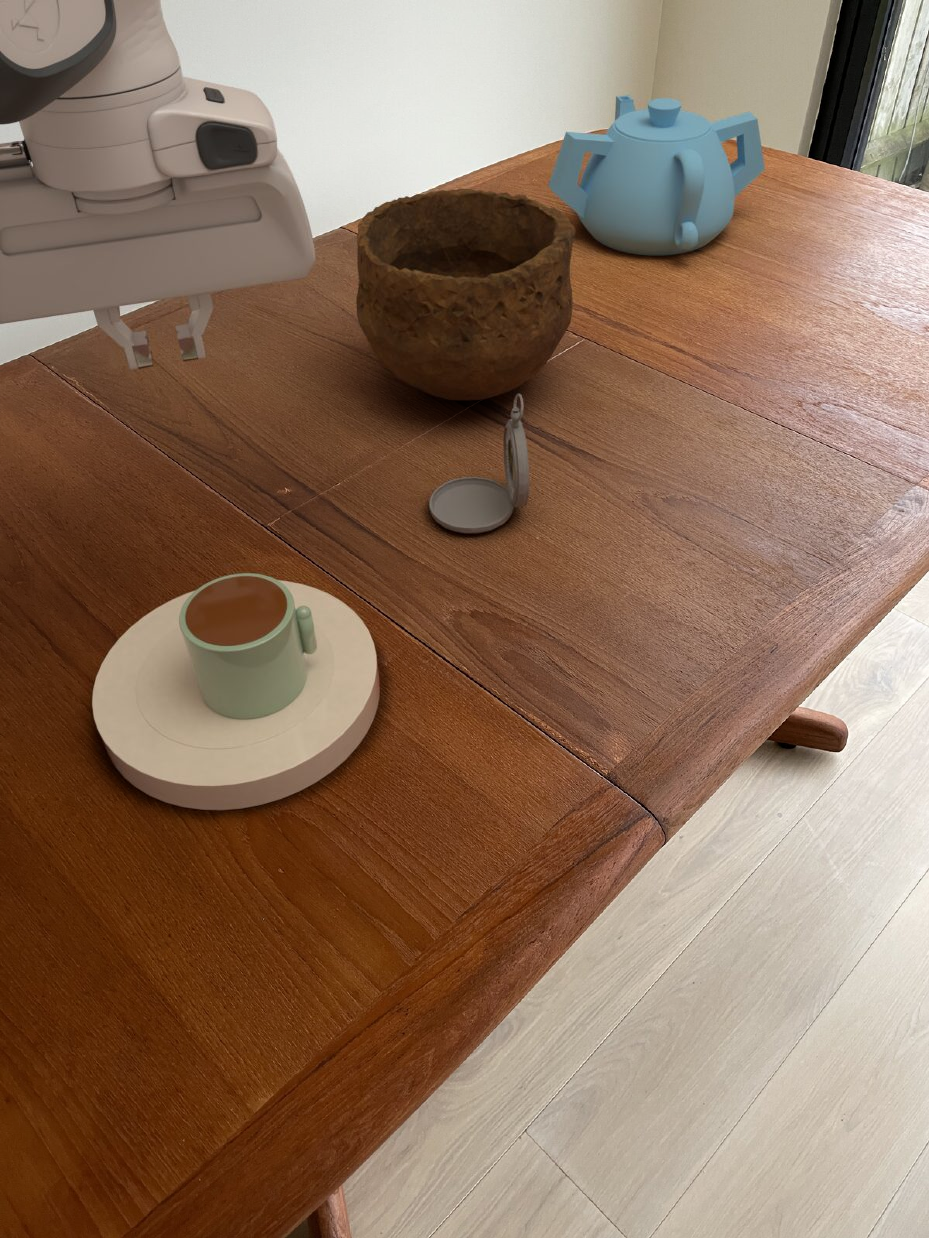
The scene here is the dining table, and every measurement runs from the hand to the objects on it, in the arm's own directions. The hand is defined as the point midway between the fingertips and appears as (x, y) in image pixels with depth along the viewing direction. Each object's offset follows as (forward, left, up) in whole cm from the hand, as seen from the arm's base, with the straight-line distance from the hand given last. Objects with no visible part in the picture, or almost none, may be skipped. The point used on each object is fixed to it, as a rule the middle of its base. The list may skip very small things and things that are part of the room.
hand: (168, 360), depth 65 cm
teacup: (+1, -15, -15) cm, 21 cm away
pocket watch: (+21, 0, -17) cm, 27 cm away
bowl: (+25, +19, -17) cm, 36 cm away
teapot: (+55, +46, -17) cm, 74 cm away
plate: (0, -14, -17) cm, 22 cm away
